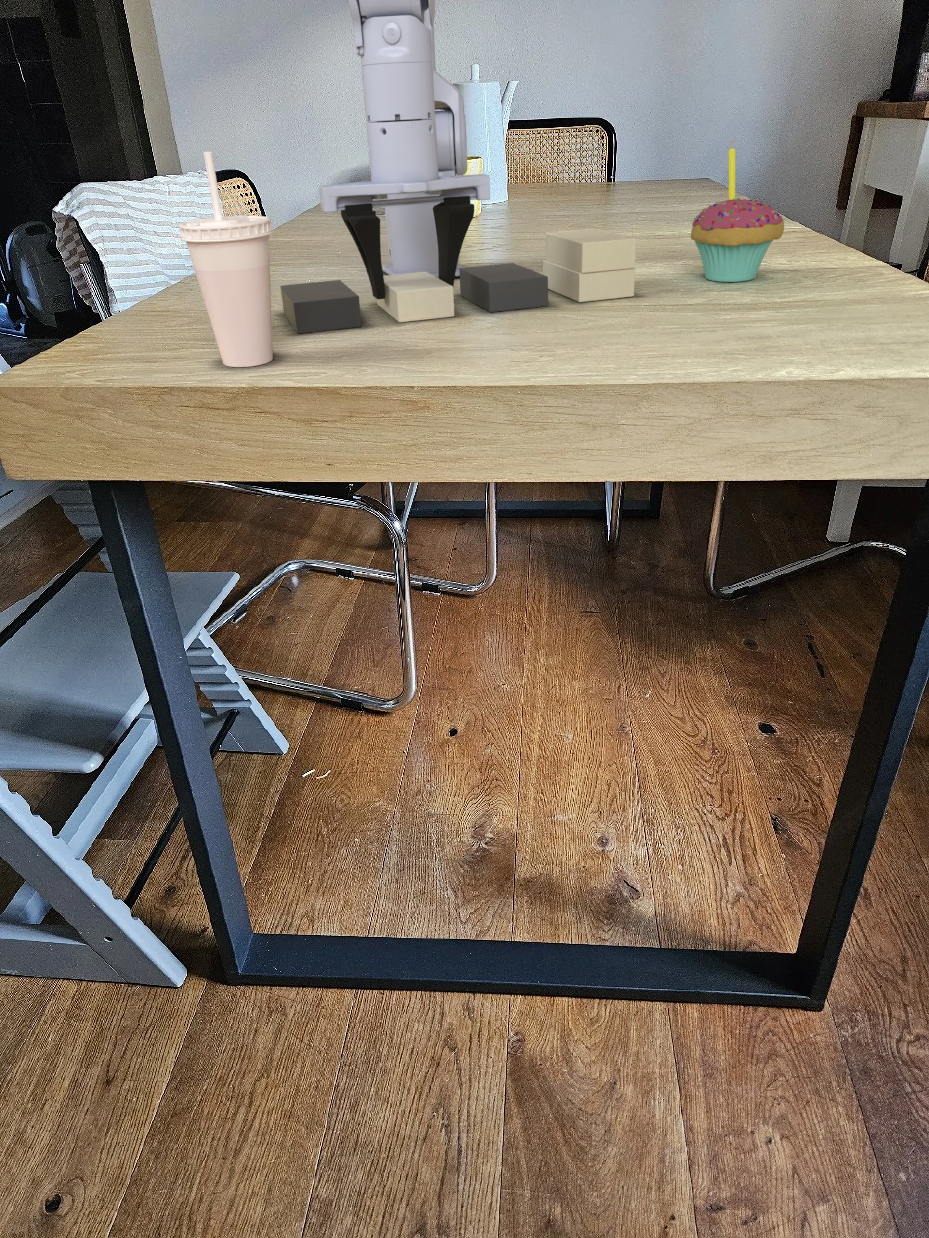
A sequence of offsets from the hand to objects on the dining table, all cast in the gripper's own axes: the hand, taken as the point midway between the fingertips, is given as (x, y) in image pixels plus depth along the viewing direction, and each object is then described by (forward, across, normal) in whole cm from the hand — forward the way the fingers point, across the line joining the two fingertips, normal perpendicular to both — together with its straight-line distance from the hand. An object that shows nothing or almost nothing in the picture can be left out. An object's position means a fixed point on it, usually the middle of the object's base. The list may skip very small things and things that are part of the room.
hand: (413, 294), depth 80 cm
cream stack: (+1, +17, 0) cm, 17 cm away
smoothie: (+2, -16, -12) cm, 20 cm away
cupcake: (+2, +32, -1) cm, 32 cm away
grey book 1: (+1, -8, 0) cm, 9 cm away
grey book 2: (+1, +8, 0) cm, 9 cm away
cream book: (+1, 0, 0) cm, 1 cm away
